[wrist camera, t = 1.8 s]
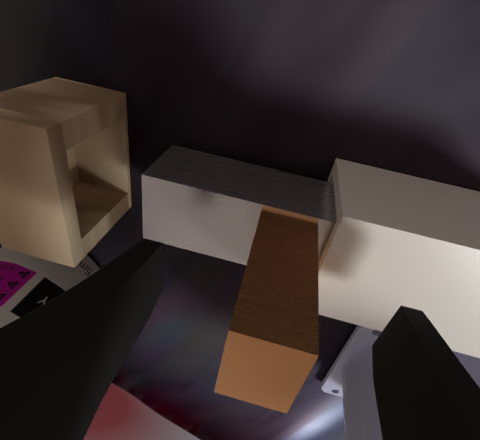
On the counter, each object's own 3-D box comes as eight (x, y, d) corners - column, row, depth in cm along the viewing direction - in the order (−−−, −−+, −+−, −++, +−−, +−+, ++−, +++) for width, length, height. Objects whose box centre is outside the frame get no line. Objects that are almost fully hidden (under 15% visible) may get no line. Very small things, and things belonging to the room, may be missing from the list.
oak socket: (126, 92, 14) (46, 129, 10) (131, 206, 17) (74, 267, 13) (55, 76, 14) (-52, 105, 10) (75, 191, 17) (2, 247, 13)
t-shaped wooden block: (526, 229, 13) (754, 474, 6) (481, 280, 14) (619, 514, 8) (172, 144, 14) (37, 273, 7) (170, 201, 16) (60, 348, 9)
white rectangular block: (504, 197, 13) (579, 274, 9) (443, 275, 16) (483, 359, 12) (336, 158, 13) (342, 216, 10) (305, 239, 16) (302, 310, 12)
